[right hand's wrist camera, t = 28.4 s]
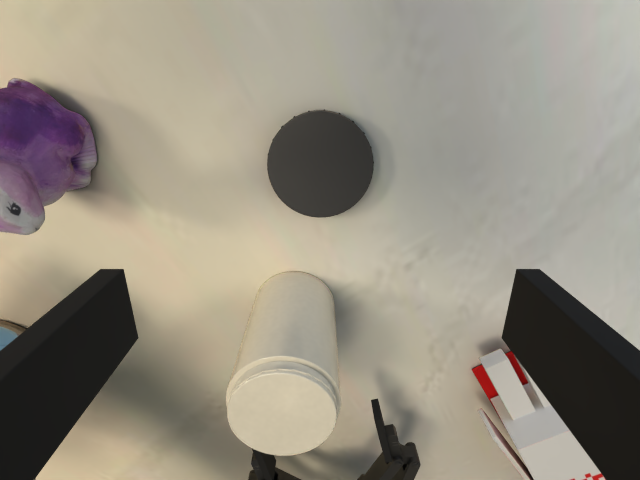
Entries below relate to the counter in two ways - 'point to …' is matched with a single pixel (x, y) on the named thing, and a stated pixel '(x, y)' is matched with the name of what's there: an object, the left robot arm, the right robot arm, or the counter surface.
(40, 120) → the figurine
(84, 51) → the counter surface
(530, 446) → the toy
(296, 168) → the lid
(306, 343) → the jar
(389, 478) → the left robot arm
